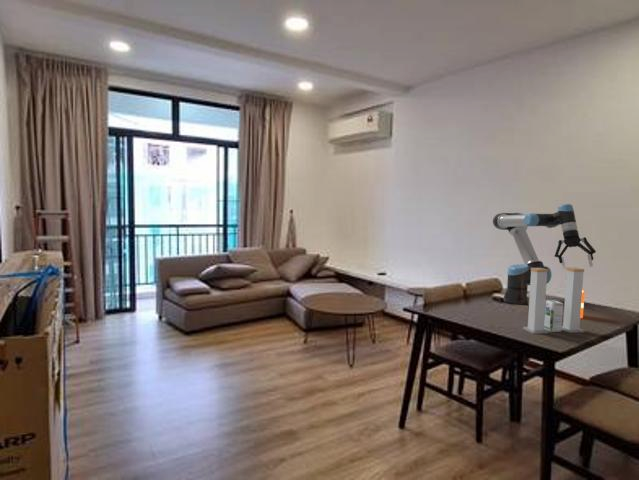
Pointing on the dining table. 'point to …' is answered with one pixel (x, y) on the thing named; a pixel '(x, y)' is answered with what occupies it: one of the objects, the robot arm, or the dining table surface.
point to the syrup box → (553, 316)
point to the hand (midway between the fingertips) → (577, 267)
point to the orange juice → (582, 304)
